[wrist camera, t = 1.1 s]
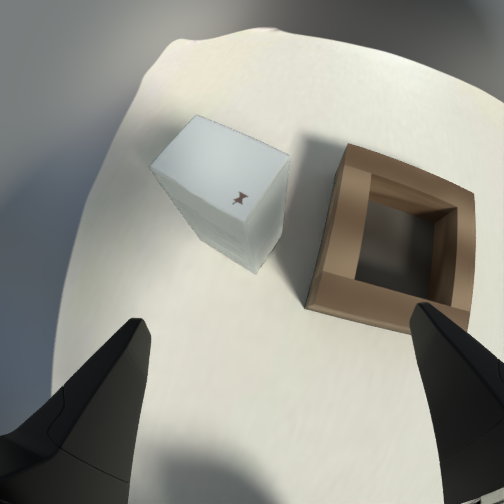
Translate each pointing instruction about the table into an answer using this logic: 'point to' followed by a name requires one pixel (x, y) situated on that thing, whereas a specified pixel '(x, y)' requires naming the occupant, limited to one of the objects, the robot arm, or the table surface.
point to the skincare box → (227, 189)
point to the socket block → (394, 244)
